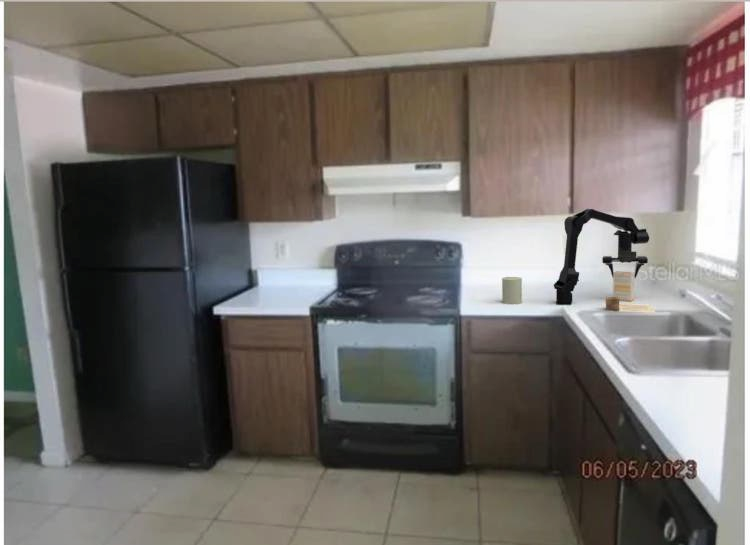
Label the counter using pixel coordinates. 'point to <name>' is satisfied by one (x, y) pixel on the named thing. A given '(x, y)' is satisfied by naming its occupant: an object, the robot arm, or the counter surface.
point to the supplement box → (623, 285)
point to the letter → (635, 308)
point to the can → (511, 290)
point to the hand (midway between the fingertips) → (624, 278)
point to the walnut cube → (612, 303)
